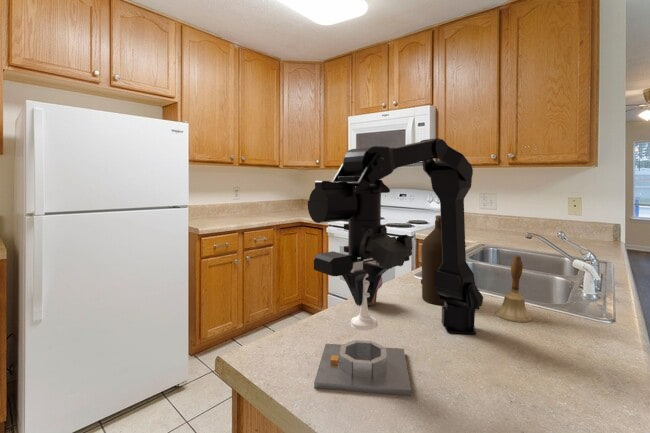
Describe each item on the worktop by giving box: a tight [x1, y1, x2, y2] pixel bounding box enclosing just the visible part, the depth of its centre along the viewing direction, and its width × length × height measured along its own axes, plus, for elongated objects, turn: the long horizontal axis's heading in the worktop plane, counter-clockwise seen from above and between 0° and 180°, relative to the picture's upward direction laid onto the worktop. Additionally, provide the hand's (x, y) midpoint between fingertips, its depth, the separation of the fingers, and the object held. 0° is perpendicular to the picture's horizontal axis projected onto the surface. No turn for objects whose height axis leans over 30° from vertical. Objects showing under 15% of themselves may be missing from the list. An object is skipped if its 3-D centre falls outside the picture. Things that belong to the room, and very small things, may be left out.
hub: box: [313, 339, 412, 397], centre depth 63 cm, size 16×14×4 cm
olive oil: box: [420, 214, 445, 306], centre depth 100 cm, size 11×11×25 cm
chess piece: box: [350, 274, 378, 331], centre depth 62 cm, size 5×5×10 cm
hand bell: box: [495, 255, 533, 323], centre depth 88 cm, size 8×8×16 cm
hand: (363, 303), depth 62 cm, fingers closed on chess piece, 2 cm apart
